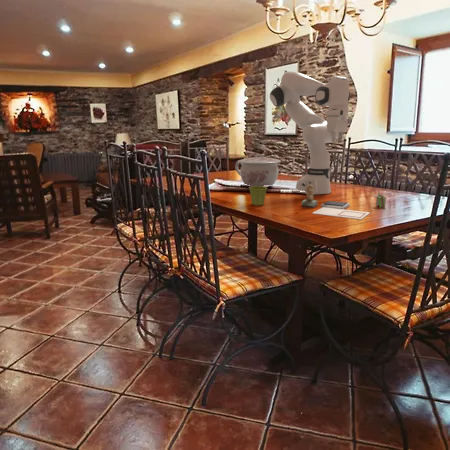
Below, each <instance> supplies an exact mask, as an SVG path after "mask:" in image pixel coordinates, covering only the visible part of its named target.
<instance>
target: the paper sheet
mask: <svg viewBox="0 0 450 450" xmlns="http://www.w3.org/2000/svg"><path fill="white" fill-rule="evenodd" d="M311 213H312V214H313V215H319V216H329V217H336V218H344V219H353V220H360V221H362V220H363V219H365V218H366V217H367V216H368V215H370V214H371V212H368V211H361V210H352V209H336V208H327V207H320V208H318V209H317V210H315V211H313V212H311Z"/></svg>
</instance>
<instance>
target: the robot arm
mask: <svg viewBox="0 0 450 450" xmlns="http://www.w3.org/2000/svg"><path fill="white" fill-rule="evenodd" d="M280 81H281V82H280V83H281V84H279V85H277V86H276V87H274V88H273V89H272V90H271V91H270V93H269V99H270V102H271V103H272V105H273V106H275V107H276V108H278V107H282V106H284V105H285V106H284V108H285V109H284V110H285V112H286V114H287V115H288V116H289V118H290V119H291V120H292V121H293V122H294V123H295V125H297V127H299V128H300V129H301V130H302V140H303V141H304V142H305V144H306V145H307V147H308V151H309V157H310V158H309V167H308V168H307V169H305V172H306V174H305V175H304V176H302V177H301V178H300V179H298V180H297V182H296V184H295V188H296V189H298V190H304V191H305V192H300V191H293V190H295V189H294V188H293V190H291V192H293V193H299V194H306V195H307V190H306V187H307V186H308V185H313V186H314V191H313V196H314V195H326V194H327V195H328V194H331V193H332V189H331V184H330V181H331V180H330V178H331V168H330V167H331V153H330V151H328V149H327V147H326V144H330V143H336V142H337V141H338V142H342V141H343V136H344V132H347V130H348V117H347V116H348V115H349V101H350V100H351V91H350V83H349V78H348V77H345V76H332V77H331V78H330V80H329V81H328V82H327V83H324V82H321V81H319V80H316V79H315V78H312V77H310V76H308V75H306V74H304V73H301V72H297V71H286V72H285V73H283V74H282V77H281V80H280ZM304 96H307V97H308V96H314V100H315V102H316V104H317V105H318V106H321V107H329V108H328V110H327V111H326V112H325V116H326V119H325V118H323V117H321V116H319V114H316V113H315V112H314V111H313V110H312V109H311V108H309V107H308V105H306V104H305V103H303V101H302V100H301V98H303V97H304Z"/></svg>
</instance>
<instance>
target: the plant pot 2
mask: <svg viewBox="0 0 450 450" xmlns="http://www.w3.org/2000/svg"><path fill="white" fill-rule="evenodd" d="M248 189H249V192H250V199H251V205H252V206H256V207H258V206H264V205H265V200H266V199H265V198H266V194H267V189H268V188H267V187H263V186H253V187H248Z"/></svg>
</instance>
